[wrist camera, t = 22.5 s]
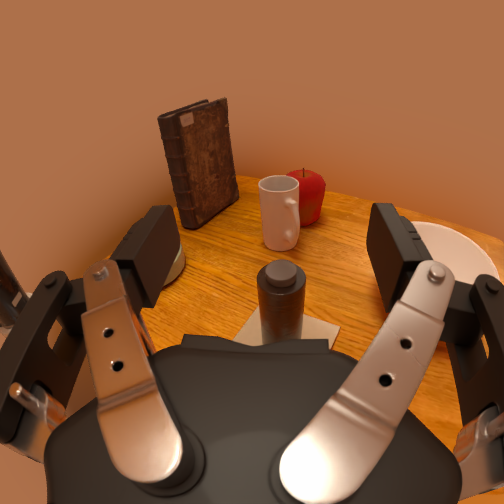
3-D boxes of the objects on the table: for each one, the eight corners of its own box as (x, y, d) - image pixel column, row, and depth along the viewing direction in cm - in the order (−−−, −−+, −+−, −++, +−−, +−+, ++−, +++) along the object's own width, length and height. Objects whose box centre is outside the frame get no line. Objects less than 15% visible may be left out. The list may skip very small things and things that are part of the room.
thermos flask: (273, 367, 33) (270, 294, 25) (256, 339, 36) (247, 263, 28) (307, 351, 34) (316, 275, 26) (288, 325, 38) (290, 248, 30)
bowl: (389, 245, 51) (397, 208, 46) (483, 284, 39) (499, 249, 34) (343, 319, 39) (352, 276, 34) (468, 376, 27) (498, 341, 22)
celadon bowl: (122, 303, 44) (114, 288, 42) (118, 260, 54) (112, 246, 51) (193, 279, 48) (189, 263, 46) (177, 240, 57) (173, 225, 55)
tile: (303, 403, 29) (303, 401, 29) (217, 364, 35) (216, 361, 34) (339, 330, 37) (340, 326, 37) (263, 302, 42) (263, 299, 42)
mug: (257, 236, 56) (252, 180, 49) (288, 228, 58) (287, 172, 50) (279, 267, 48) (278, 204, 41) (314, 256, 50) (317, 194, 43)
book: (193, 233, 59) (169, 113, 44) (171, 224, 62) (147, 115, 47) (242, 198, 69) (231, 96, 54) (220, 193, 73) (207, 97, 57)
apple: (331, 224, 58) (335, 171, 50) (296, 235, 55) (297, 179, 48) (308, 206, 64) (309, 157, 57) (276, 215, 62) (273, 164, 55)
